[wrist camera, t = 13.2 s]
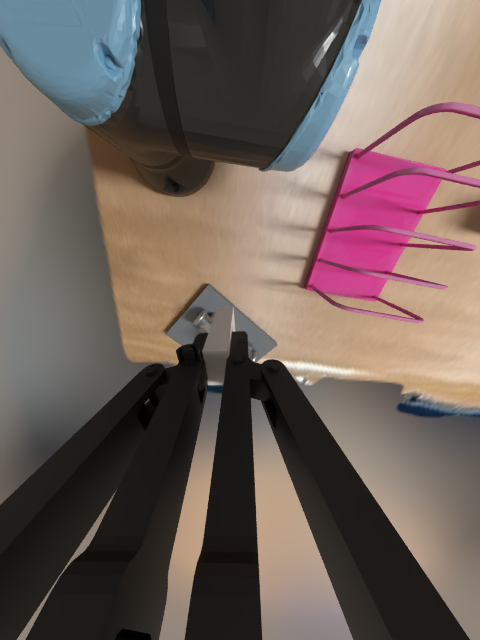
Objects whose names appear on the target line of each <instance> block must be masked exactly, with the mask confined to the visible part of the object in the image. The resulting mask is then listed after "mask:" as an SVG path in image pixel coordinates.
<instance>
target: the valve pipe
mask: <svg viewBox="0 0 480 640" xmlns="http://www.w3.org/2000/svg"><path fill="white" fill-rule="evenodd" d="M207 313H208V312H207V311H206V310H205V309H203V310H202V311H201V312H200V313H199V314H198V315H197V316H196V317H195V319H194V320H193V322H192V324H193V325H194V326H195V327H196V326H199V327H200V328H199V331H200V332H202V333H205V332H207V333H209V330H210V327H211V324H212V321H213V318H214V315H215V313H214V312H213V313H212V314H211V315H210V316H209V315H208V314H207ZM235 331H238V330H237V329H236V328H235ZM248 354H249V358H250V359H251V360H252V361H253V362H255V361H256V360H257V358H258V352H257V351H256V350H254V349H253V346H252V343H251V342H249V341H248Z"/></svg>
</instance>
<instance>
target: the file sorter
mask: <svg viewBox="0 0 480 640" xmlns="http://www.w3.org/2000/svg"><path fill="white" fill-rule="evenodd" d="M438 112H454V113H458V114H463V115H467V116H470V117H474V118H478V119H480V107H476V106H472V105H468V104H463V103H454V102H451V103H441V104H436V105H432V106H429V107H427V108H424V109H422V110H420V111H418V112H416V113H415V114H413V115H412V116H410V117H409V118H407V119H406V120H404V121H403V122H401V123H400V124H399V125H397V126H396V127H395V128H393V129H392V130H390V131H389V132H387V133H386V134H385V135H383V136H382V137H381V138H379V139H378V140H376V141H375V142H374V143H372V144H371V145H369V146H368V147H367V148H365V149H364V150H363V149H359V148H356V149H354V150H353V151H351V152H350V154H349V157H348V160H347V163H346V166H345V169H344V172H343V175H342V177H341V180H340V183H339V186H338V189H337V192H336V195H335V198H334V201H333V204H332V207H331V210H330V213H329V216H328V219H327V222H326V225H325V227H324V230H323V233H322V236H321V239H320V242H319V245H318V248H317V251H316V254H315V257H314V260H313V263H312V266H311V269H310V272H309V275H308V278H307V280H306V283H305V286H304V288H305V289H307V290H310V291H315V292H317V293H318V294H319V295H320V296H322V297H323V298H324V299H325V300H327V301H328V302H329V303H331V304H332V305H334V306H336V307H338V308H341V309H344V310H347V311H351V312H356V313H362V314H367V315H373V316H379V317H384V318H390V319H395V320H401V321H407V322H413V323H423V321H424V319H423V318H421V317H419V316H417V315H415V314H413V313H411V312H409V311H407V310H405V309H402V308H400V307H398V306H396V305H394V304H392V303H389V302H387V301H385V300H383V299H381V298H378V296H379V294H380V293H381V291H382V289H383V287H384V285H385V283H386V281H387V280H388V279H390V280H395V281H401V282H406V283H411V284H416V285H422V286H427V287H432V288H438V289H444V290H446V289H447V286H445V285H441V284H437V283H433V282H429V281H425V280H421V279H416V278H413V277H408V276H404V275H401V274H396V273H392V270H393V268H394V267H395V265H396V263H397V261H398V259H399V258H400V256H401V254H402V252H403V250H404V248H405V247H418V248H432V249H447V250H463V251H473V250H475V249H476V248H477V246H475V245H472V244H468V243H463V242H459V241H454V240H449V239H445V238H440V237H435V236H431V235H426V234H421V233H417V232H414V230H415V228H416V226H417V225H418V223H419V221H420V219H421V217H422V215H423V214H425V213H432V212H439V211H445V210H452V209H459V208H466V207H472V206H479V205H480V201H475V202H469V203H463V204H457V205H452V206H446V207H440V208H434V209H428V210H426V208H427V206H428V204H429V202H430V201H431V199H432V197H433V195H434V193H435V192H436V190H437V188H438V186H439V184H440V182H441V180H442V179H443V180H447V181H452V182H456V183H460V184H464V185H469V186H473V187H478V188H480V180H477V179H473V178H469V177H465V176H461V175H457V174H453V173H456V172H459V171H463V170H466V169H469V168H472V167H476V166H479V165H480V161H476V162H473V163H470V164H467V165H464V166H461V167H458V168H455V169H452V170H449V171H447V170H446V169H443V168H439V167H435V166H430V165H426V164H422V163H418V162H414V161H410V160H405V159H401V158H397V157H392V156H388V155H384V154H380V153H376V152H371V151H370V150H372V149H373V148H375V147H376V146H378V145H379V144H380V143H382V142H383V141H385V140H386V139H388V138H389V137H391V136H392V135H394V134H395V133H397V132H398V131H400V130H401V129H403V128H404V127H406V126H407V125H409V124H410V123H412V122H413V121H415V120H417V119H419V118H421V117H423V116H426V115H430V114H433V113H438ZM410 237H414V238H419V239H424V240H429V241H434V242H438V243H443V244H448V245H453V246H446V245H426V244H407V243H408V241H409V239H410ZM390 275H392V276H390ZM324 293H327V294H333V295H339V296H345V297H351V298H357V299H363V300H368V301H376V300H378V301H380V302H382V303H384V304H387V305H389V306H391V307H393V308H395V309H397V310H399V311H401V312H403V313H405V314H407V315H409V316H411V317H413V318H415V319H413V318H406V317H401V316H396V315H389V314H384V313H378V312H372V311H367V310H362V309H356V308H351V307H347V306H344V305H341V304H339V303H337V302H335V301H333V300H332V299H330V298H329V297H328V296H326V295H325V294H324Z"/></svg>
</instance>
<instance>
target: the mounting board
mask: <svg viewBox="0 0 480 640" xmlns="http://www.w3.org/2000/svg"><path fill="white" fill-rule="evenodd" d="M217 307H234V321H235V328H236V329H237V330H238V331H245V332H246V333H247V335H248V341H249V342H251V343H252V346H253V349H254V350H256V351H257V352H258V358H257V360H256V361H255V363H256V362H257V361H258V360H259V359H261V358H262V357H263V356H264V355H266V354H267V353H268V352H269V351H271V350H272V349H273V348H274V347H276V346H277V343H276V341H275V340H273V339H272V338H271V337H270V336H269V335H268V334H267V333H265V332H264V331H263V330H262V329H261V328H260V327H258V326H257V325H256V324H255V323H254V322H253V321H252V320H250V319H249V318H248V317H247V316H246V315H245V314H244V313H242V312H241V311H240V310H239V309H238V308H237V307H235V306H234V305H233V304H232V303H231V302H230V301H229V300H227V299H226V298H225V297H224V296H223V295H222V294H221V293H219V292H218V291H217V290H216V289H215V288H214V287H212V286H211V285H210V284H209V285H208V286H207V287H206V288H205V289H204V290H203V291H202V293H201V294H200V295H199V296H198V297H197V298H196V300H195V301H194V302H193V303H192V304H191V305H190V306H189V308H188V309H187V310H186V311H185V312H184V313H183V315H182V316H181V317H180V318H179V319H178V320H177V321H176V323H175V324H174V325H173V326H172V327H171V328H170V330H169V331H168V332H167V333H166V335H168V336H169V337H171V338H172V339H174V340H175V341H176V342H178V343H179V344H181V345H182V346H183V345H186V344H193V342H194V339H195V337H196V336H197V335H198V334H199V333H202V332H200V331H199V328H200V327H199V326H196V327H195V326H194V325H193V324H192V322H193V320H194V319H195V317H196V316H197V315H198V314H199V313H200V312H201V311H202V310H203V309H205V310H206V311H207V312H208V313H207V314H208V315H209V316H210V315H211V314H212V313H213V312H214V313H215V312H216V309H217ZM205 333H207V332H205Z"/></svg>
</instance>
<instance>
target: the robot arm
mask: <svg viewBox="0 0 480 640" xmlns="http://www.w3.org/2000/svg"><path fill="white" fill-rule="evenodd" d="M380 3H381V0H0V45H1V47H2V48H3V50H4V51H5V52H6V54H7V55H8V56H9V57H10V58H11V59H12V61H13V63H14V64H15V65H16V66H17V67H18V68H19V70H20V71H21V72H22V74H23V75H24V76H25V77H26V78H27V79H28V80H29V81H30V82H31V83H32V84H33V85H34V86H35V87H36V88H37V89H39V91H41V92H42V93H43V94H44V95H45V96H47V97H48V98H49V99H50V100H51V101H53V103H55V104H56V105H57V106H58V107H59V108H60V109H61V110H62V111H63V112H64V113H66V114H67V115H68V116H69V117H70V118H72V119H74V120H75V121H77V122H80V123H82V124H83V125H84V126H86V127H87V128H89V129H90V130H92V131H93V132H95V133H96V134H97V135H99V136H100V137H102V138H103V139H105V140H106V141H107V142H109V143H110V144H112V145H113V146H115V147H116V148H117V149H119V150H120V151H122V152H123V153H125V154H126V155H128V156H129V158H130V160H131V161H132V163H133V165H134V166H135V168H136V169H137V171H138V172H139V173H140V175H141V176H142V177H143V178H144V179H145V180H146V181H147V182H148V183H149V184H151V185H152V186H153V187H155V188H156V189H158V190H160V191H161V192H163V193H165V194H168V195H171V196H177V197H183V196H188V195H191V194H193V193H195V192H197V191H198V190H200V189H201V188H202V187H203V186H204V185H205V183H206V182H207V181H208V179H209V177H210V175H211V173H212V171H213V168H214V164H215V161H217V162H224V163H230V164H236V165H243V166H249V167H255V168H259V170H260V171H263V172H265V171H269V170H276V171H286V172H289V171H293V170H295V169H297V168H298V167H301V166H302V165H304V164H305V163H306V162H307V161H308V160H309V159H310V157H311V156H312V155H313V154H314V152H315V151H316V150H317V148H318V147H319V145H320V144H321V142H322V140H323V139H324V137H325V135H326V134H327V132H328V130H329V128H330V127H331V125H332V123H333V121H334V119H335V117H336V115H337V113H338V111H339V109H340V107H341V105H342V103H343V101H344V99H345V97H346V95H347V93H348V90H349V88H350V86H351V84H352V81H353V79H354V77H355V74H356V72H357V69H358V66H359V63H358V58H359V57H360V55H361V53H362V51H363V49H364V47H365V45H366V43H367V41H368V40H369V38H370V35H371V32H372V29H373V26H374V23H375V20H376V17H377V13H378V10H379V6H380ZM176 353H177V357H178V360H179V363H178V365H176V366H173V367H170V368H166V369H165V368H164V366H163V365H162V364H152V365H149V366H147V367H145V368H144V369H143V370H142V371H141V372H139V374H137V375H136V376H135V377H134V378H133V379H132V380H131V381H130V382H129V383H128V384H127V385H126V386H125V387H124V388H123V389H122V390H121V391H120V392H118V393H117V394H116V395H115V396H114V398H112V399H111V400H110V401H109V402H108V403H107V404H106V405H105V406H104V407H103V408H102V409H101V410H100V411H99V412H98V413H97V414H95V416H93V417H92V418H91V419H90V420H89V421H88V422H87V423H86V424H85V425H84V426H83V427H82V428H81V429H80V430H79V431H78V432H77V433H75V434H74V435H73V436H72V437H71V438H70V439H69V440H68V441H67V442H66V443H65V444H64V445H63V446H62V447H61V448H60V449H59V450H58V451H57V452H56V453H54V455H52V456H51V457H50V458H49V459H48V460H47V461H46V462H45V463H44V464H43V465H42V466H41V467H40V468H39V469H38V470H37V471H36V472H34V474H33V475H31V476H30V477H29V478H28V479H27V480H26V481H25V482H24V483H23V484H22V485H21V486H20V487H19V488H18V489H17V490H16V491H15V492H14V493H12V495H11V496H9V497H8V498H7V499H6V500H5V501H4V502H3V503H2V504H1V505H0V640H17V638H18V637H19V635H20V634H21V632H22V631H23V629H24V628H25V626H26V625H27V623H28V622H29V620H30V619H31V617H32V616H33V614H34V612H35V611H36V610H37V608H38V607H39V605H40V604H41V602H42V601H43V599H44V598H45V596H46V595H47V593H48V592H49V590H50V589H51V587H52V586H53V584H54V583H55V581H56V580H57V578H58V576H59V575H60V574H61V572H62V571H63V569H64V568H65V566H66V565H67V563H68V562H69V560H70V558H71V557H72V556H73V554H74V553H75V551H76V550H77V548H78V547H79V545H80V543H81V542H82V540H83V539H84V538H85V536H86V535H87V533H88V532H89V530H90V528H91V527H92V526H93V524H94V522H95V521H96V520H97V518H98V517H99V515H100V514H101V512H102V510H103V509H104V507H105V506H106V505H107V503H108V501H109V500H110V499H111V497H112V496H113V494H114V493H115V491H116V490H117V491H116V493H115V495H114V497H113V499H112V501H111V503H110V505H109V507H108V509H107V511H106V514H105V515H104V517H103V519H102V522H101V524H100V526H99V528H98V530H97V532H96V534H95V536H94V538H93V539H92V541H91V543H90V545H89V546H88V547H87V549H86V550H85V551H84V552H83V553H82V554H80V555H79V556H78V557H77V558H76V559H74V560H73V561H72V562H71V563H70V565H69V566H68V567H67V569H66V570H65V571H64V572H63V574H62V575H61V576H60V578H59V579H58V581H57V583H56V584H55V586H54V588H53V589H52V591H51V593H50V595H49V596H48V599H47V600H46V602H45V604H44V606H43V608H42V610H41V611H40V613H39V615H38V617H37V619H36V621H35V623H34V625H33V627H32V628H31V630H30V632H29V634H28V636H27V638H26V640H159V635H160V631H161V625H162V621H163V616H164V611H165V605H166V599H167V589H168V570H169V564H170V559H171V554H172V550H173V545H174V541H175V536H176V532H177V527H178V523H179V518H180V514H181V509H182V504H183V499H184V495H185V491H186V486H187V482H188V477H189V472H190V468H191V463H192V458H193V454H194V449H195V445H196V440H197V436H198V431H199V427H200V422H201V417H202V413H203V408H204V403H205V399H206V395H207V387H206V384H207V380H208V385H223V392H222V400H221V408H220V416H219V423H218V431H217V439H216V447H215V455H214V462H213V470H212V478H211V486H210V494H209V501H208V509H207V518H206V524H205V533H204V539H203V546H202V550H201V554H200V557H199V559H198V562H197V566H196V571H195V575H194V580H193V587H192V593H191V599H190V606H189V613H188V620H187V627H186V634H185V640H262V626H261V605H260V585H259V564H258V546H257V527H256V526H257V524H256V503H255V482H254V461H253V439H252V416H251V398H254V399H257V400H261V403H262V405H263V408H264V410H265V413H266V415H267V418H268V420H269V423H270V425H271V428H272V431H273V434H274V436H275V439H276V441H277V443H278V446H279V449H280V452H281V454H282V456H283V459H284V462H285V464H286V467H287V470H288V472H289V475H290V477H291V480H292V482H293V485H294V488H295V490H296V493H297V495H298V498H299V500H300V503H301V506H302V508H303V511H304V513H305V516H306V519H307V521H308V524H309V526H310V529H311V531H312V534H313V537H314V539H315V542H316V544H317V547H318V550H319V552H320V555H321V557H322V560H323V562H324V565H325V568H326V570H327V573H328V575H329V578H330V580H331V583H332V585H333V588H334V590H335V593H336V596H337V598H338V601H339V604H340V606H341V609H342V611H343V614H344V616H345V619H346V622H347V624H348V627H349V629H350V632H351V634H352V637H353V640H470V639H469V638H468V636H467V635H466V633H465V632H464V631H463V629H462V627H461V626H460V624H459V623H458V621H457V620H456V618H455V617H454V615H453V614H452V612H451V611H450V610H449V608H448V607H447V605H446V604H445V602H444V601H443V599H442V598H441V596H440V595H439V593H438V592H437V590H436V589H435V587H434V586H433V584H432V583H431V581H430V580H429V578H428V577H427V575H426V574H425V572H424V571H423V570H422V568H421V567H420V565H419V564H418V562H417V561H416V559H415V558H414V556H413V555H412V553H411V552H410V550H409V549H408V547H407V546H406V545H405V543H404V541H403V540H402V538H401V537H400V536H399V534H398V533H397V531H396V530H395V528H394V527H393V525H392V524H391V522H390V521H389V519H388V518H387V516H386V515H385V513H384V512H383V510H382V509H381V507H380V506H379V504H378V503H377V502H376V500H375V498H374V497H373V496H372V494H371V493H370V491H369V490H368V488H367V487H366V485H365V484H364V482H363V481H362V479H361V478H360V476H359V475H358V473H357V472H356V470H355V469H354V467H353V466H352V465H351V463H350V462H349V460H348V459H347V457H346V456H345V454H344V453H343V451H342V450H341V448H340V447H339V445H338V444H337V442H336V441H335V439H334V438H333V436H332V435H331V433H330V432H329V430H328V429H327V427H326V426H325V424H324V423H323V422H322V420H321V419H320V417H319V416H318V414H317V413H316V411H315V410H314V408H313V407H312V405H311V404H310V402H309V401H308V399H307V398H306V396H305V395H304V393H303V392H302V390H301V389H300V388H299V386H298V385H297V383H296V382H295V380H294V379H293V377H292V376H291V374H290V373H289V371H288V370H287V368H286V367H285V365H284V364H283V363H282V362H280V361H278V360H273V359H272V360H267V361H264V362H263V363H262V364H258V363H255V362H253V361H252V360H251V359H250V358H249V354H248V335H247V333H246V332H245V331H235V321H234V307H217V309H216V312H215V315H214V318H213V321H212V324H211V327H210V330H209V333H199V334H198V335H197V336H196V337H195V339H194V342H193V344H186V345H183V346H181V347H179V348H178V349H177V350H176ZM148 399H149V401H148V402H147V403H146V404H144V403H145V402H146V401H147V400H148ZM117 488H118V489H117Z"/></svg>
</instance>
